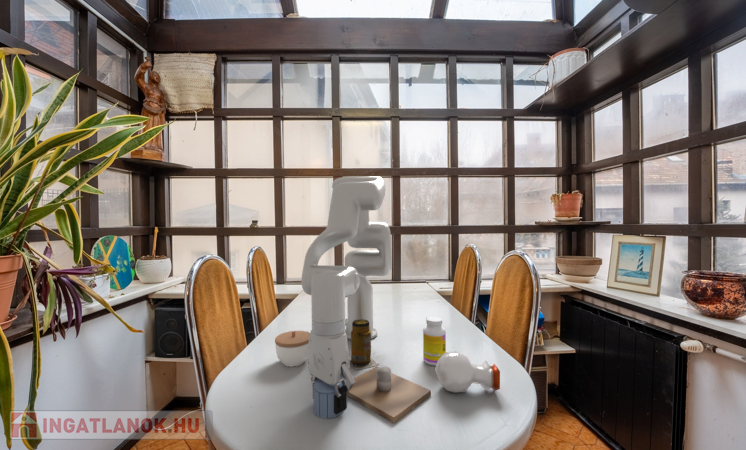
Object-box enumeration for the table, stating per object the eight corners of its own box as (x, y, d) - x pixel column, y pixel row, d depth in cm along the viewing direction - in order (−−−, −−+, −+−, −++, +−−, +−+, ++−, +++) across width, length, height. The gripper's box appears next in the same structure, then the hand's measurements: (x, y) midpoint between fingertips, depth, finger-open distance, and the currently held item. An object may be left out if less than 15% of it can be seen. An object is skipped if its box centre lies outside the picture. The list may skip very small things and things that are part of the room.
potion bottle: (431, 391, 78) (491, 400, 77) (438, 386, 70) (505, 396, 69) (432, 353, 83) (488, 361, 82) (438, 344, 75) (500, 353, 74)
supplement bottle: (446, 367, 88) (445, 323, 88) (422, 365, 89) (422, 321, 89) (445, 357, 95) (445, 316, 94) (423, 355, 96) (423, 315, 96)
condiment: (366, 354, 97) (366, 316, 97) (378, 365, 90) (378, 324, 90) (345, 358, 94) (345, 320, 94) (356, 370, 87) (355, 328, 87)
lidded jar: (319, 361, 92) (318, 330, 92) (287, 374, 85) (287, 341, 85) (299, 351, 100) (298, 323, 100) (268, 362, 92) (268, 331, 92)
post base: (338, 390, 76) (338, 368, 76) (376, 370, 87) (376, 350, 86) (394, 423, 64) (393, 396, 64) (430, 395, 74) (430, 371, 74)
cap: (307, 408, 69) (307, 382, 69) (331, 395, 74) (331, 371, 74) (326, 422, 64) (326, 394, 64) (351, 407, 69) (351, 381, 69)
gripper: (293, 321, 72) (294, 396, 73) (341, 341, 60) (342, 430, 61) (319, 314, 78) (319, 383, 78) (367, 330, 66) (368, 412, 66)
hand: (329, 403), depth 69 cm, fingers closed on cap, 7 cm apart
